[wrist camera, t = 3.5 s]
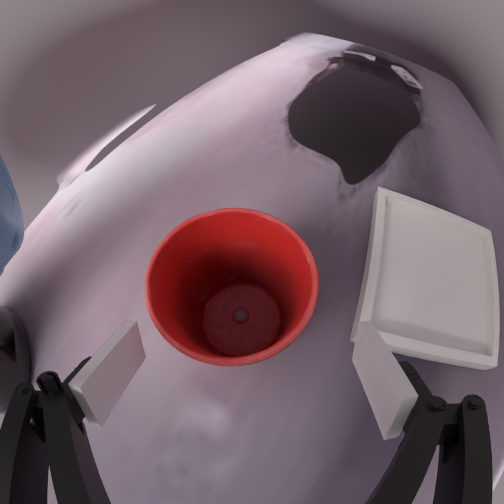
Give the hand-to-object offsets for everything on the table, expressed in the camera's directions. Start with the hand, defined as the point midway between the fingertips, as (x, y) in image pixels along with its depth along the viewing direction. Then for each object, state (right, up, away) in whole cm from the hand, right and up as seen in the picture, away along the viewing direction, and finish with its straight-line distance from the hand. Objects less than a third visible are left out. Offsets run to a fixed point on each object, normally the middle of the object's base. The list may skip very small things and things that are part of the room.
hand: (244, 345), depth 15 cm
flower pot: (0, -1, +10) cm, 10 cm away
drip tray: (+21, +2, +10) cm, 23 cm away
